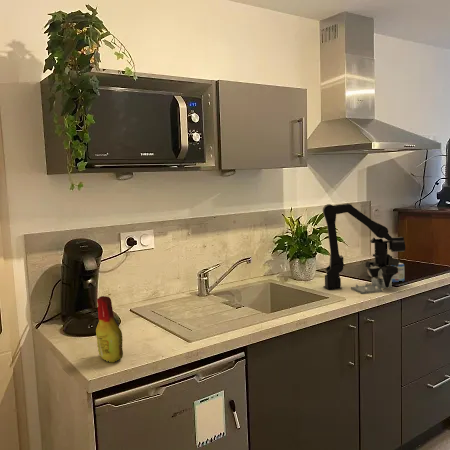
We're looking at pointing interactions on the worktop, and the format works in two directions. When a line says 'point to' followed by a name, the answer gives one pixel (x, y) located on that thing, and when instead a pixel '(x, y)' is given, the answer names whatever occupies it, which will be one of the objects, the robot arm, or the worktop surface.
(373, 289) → the tray
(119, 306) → the worktop surface
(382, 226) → the robot arm
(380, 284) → the block
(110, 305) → the bottle
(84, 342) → the worktop surface
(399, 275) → the medicine box
